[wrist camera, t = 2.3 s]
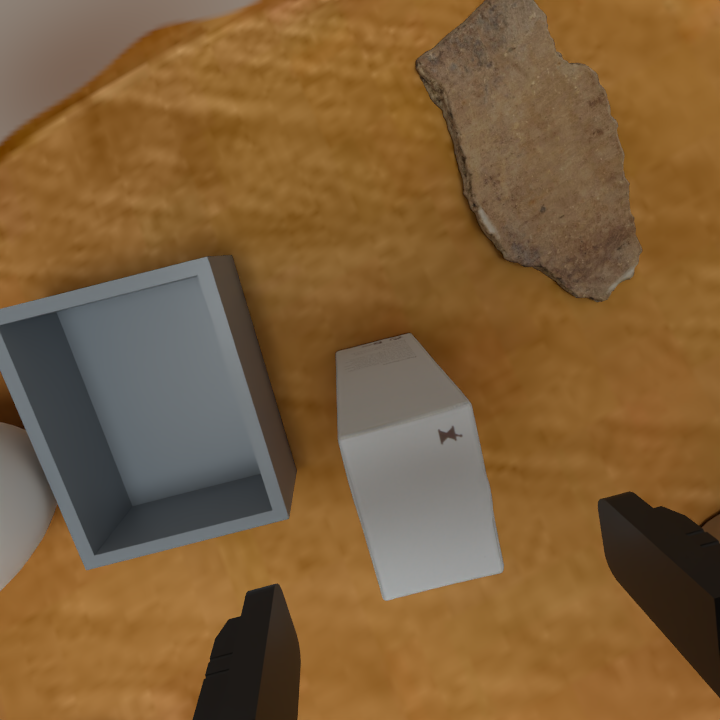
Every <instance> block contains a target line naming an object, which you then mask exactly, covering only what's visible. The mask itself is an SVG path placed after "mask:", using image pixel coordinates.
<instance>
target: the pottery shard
mask: <svg viewBox="0 0 720 720" xmlns="http://www.w3.org/2000/svg"><path fill="white" fill-rule="evenodd" d="M416 70H417V71H418V72H419V74H420V78H421V80H422V82H423V83H424V86H425V88H426V90H427V91H428V93H429V96H430V99H431V100H432V101H433V102H434V104H436V105H437V106H438V107H439V108H440V109H442V110H443V116H444V118H445V120H446V121H447V125H448V130H449V132H450V134H451V137H452V140H453V143H454V148H455V154H456V155H457V162H458V164H459V170H460V172H461V175H462V178H463V184H464V193H463V194H464V195H465V197H466V198H467V199H468V202H469V205H470V209H471V210H472V211H473V212H474V213H475V214H476V218H477V220H478V223H479V225H480V227H481V229H482V230H483V232H484V233H485V234H486V236H487V237H488V238H489V239H490V240H491V241H493V243H494V245H495V246H496V248H497V249H498V250H500V251H501V252H502V253H503V257H504V258H505V259H506V260H508V261H510V262H513V263H519V264H521V265H522V266H524V267H533V268H535V269H537V270H539V271H541V272H543V273H544V274H545V275H547V276H548V277H550V278H552V279H553V280H555V281H556V282H557V283H558V284H559V285H560V286H561V287H562V288H563V289H564V290H566V291H567V292H569V293H571V294H572V295H573V296H575V297H576V298H584V297H585V298H589V299H592V300H594V301H596V302H602V301H605V300H607V299H608V297H609V296H610V294H611V292H612V291H614V289H615V287H616V286H617V285H618V284H619V283H621V282H622V281H624V280H628V279H630V278H631V277H632V276H633V274H634V268H635V266H636V265H637V264H638V261H639V255H640V253H641V252H642V248H641V245H640V243H639V241H638V239H637V237H636V235H635V232H636V228H635V224H634V217H633V216H632V214H631V212H630V205H629V182H628V181H627V179H626V178H625V175H624V171H623V162H624V152H623V149H622V147H621V144H620V142H619V139H618V134H617V127H618V124H617V121H616V120H615V119H614V118H613V117H612V116H611V114H610V105H609V102H608V99H607V94H606V91H605V89H604V88H603V87H602V86H601V85H600V83H599V79H598V75H597V73H596V72H595V71H593V70H592V69H591V68H589V67H588V66H587V65H585V64H581V63H568V61H565V60H563V58H562V55H561V53H559V52H556V49H555V43H554V40H553V39H552V38H551V37H550V34H549V31H548V24H547V16H546V15H545V13H544V12H543V11H542V10H541V9H540V8H539V7H538V6H537V4H536V3H535V2H534V0H485V1H484V2H483V3H482V4H481V5H480V6H479V7H478V8H477V9H476V10H475V11H474V12H473V13H472V14H471V15H470V16H469V17H468V18H467V19H466V20H465V21H464V22H463V23H462V24H460V25H459V26H458V27H457V28H455V29H454V30H453V31H451V32H450V33H449V34H448V35H446V36H445V37H444V38H443V39H442V40H441V41H440V42H439V43H438V44H437V45H436V46H435V47H434V48H432V49H431V50H429V51H427V52H425V53H424V54H423V55H422V56H420V57H419V58H418V59H417V60H416Z"/></svg>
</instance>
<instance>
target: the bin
mask: <svg viewBox="0 0 720 720" xmlns="http://www.w3.org/2000/svg"><path fill="white" fill-rule="evenodd" d="M0 371H1V373H2V375H3V378H4V380H5V382H6V385H7V387H8V389H9V392H10V394H11V396H12V399H13V401H14V403H15V406H16V408H17V410H18V413H19V415H20V417H21V420H22V422H23V424H24V427H25V429H26V431H27V434H28V436H29V438H30V441H31V443H32V445H33V448H34V450H35V452H36V455H37V457H38V459H39V462H40V464H41V466H42V469H43V471H44V473H45V476H46V478H47V480H48V483H49V485H50V487H51V490H52V492H53V494H54V497H55V499H56V501H57V503H58V506H59V508H60V510H61V513H62V515H63V517H64V520H65V522H66V524H67V527H68V529H69V531H70V534H71V536H72V538H73V541H74V543H75V545H76V548H77V550H78V552H79V555H80V557H81V559H82V562H83V564H84V566H85V569H86V570H89V569H93V568H97V567H101V566H105V565H109V564H113V563H117V562H121V561H124V560H128V559H132V558H136V557H140V556H144V555H148V554H152V553H156V552H160V551H164V550H168V549H172V548H176V547H180V546H184V545H187V544H191V543H195V542H199V541H203V540H207V539H211V538H215V537H219V536H223V535H227V534H231V533H235V532H239V531H243V530H247V529H250V528H254V527H258V526H262V525H266V524H270V523H274V522H278V521H282V520H286V519H289V516H290V510H291V503H292V497H293V491H294V484H295V478H296V472H297V470H296V467H295V463H294V460H293V457H292V453H291V450H290V447H289V443H288V440H287V437H286V433H285V430H284V427H283V423H282V420H281V417H280V413H279V410H278V407H277V403H276V400H275V397H274V393H273V390H272V387H271V383H270V380H269V377H268V373H267V370H266V367H265V363H264V360H263V357H262V354H261V350H260V347H259V344H258V340H257V337H256V334H255V330H254V327H253V324H252V320H251V317H250V314H249V310H248V307H247V304H246V300H245V297H244V294H243V290H242V287H241V284H240V280H239V277H238V274H237V270H236V267H235V264H234V260H233V257H232V255H225V256H209V257H204V258H200V259H196V260H192V261H188V262H184V263H180V264H176V265H172V266H168V267H164V268H160V269H156V270H152V271H149V272H145V273H141V274H137V275H133V276H129V277H125V278H121V279H117V280H113V281H109V282H105V283H101V284H97V285H93V286H89V287H85V288H82V289H78V290H74V291H70V292H66V293H62V294H58V295H54V296H50V297H46V298H42V299H38V300H34V301H30V302H26V303H22V304H18V305H14V306H11V307H7V308H3V309H0Z"/></svg>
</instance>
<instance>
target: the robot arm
mask: <svg viewBox="0 0 720 720" xmlns="http://www.w3.org/2000/svg"><path fill="white" fill-rule="evenodd" d="M598 512H599V519H600V525H601V532H602V539H603V546H604V552H605V557H606V560H607V563H608V565H609V568H610V570H611V572H612V574H613V575H614V577H615V578H616V580H617V581H618V582H619V583H620V585H621V586H622V587H623V588H624V589H625V590H626V591H627V593H628V594H629V595H630V596H631V597H632V598H633V599H634V601H635V602H636V603H637V604H638V605H639V606H640V607H641V609H642V610H643V611H644V612H645V613H646V614H647V615H648V616H649V618H650V619H651V620H652V621H653V622H654V623H655V624H656V626H657V627H658V628H659V629H660V630H661V631H662V632H663V634H664V635H665V636H666V637H667V638H668V639H669V640H670V642H671V643H672V644H673V645H674V646H675V647H676V648H677V650H678V651H679V652H680V653H681V654H682V655H683V656H684V658H685V659H686V660H687V661H688V662H689V663H690V664H691V666H692V667H693V668H694V669H695V670H696V671H697V672H698V674H699V675H700V676H701V677H702V678H703V679H704V680H705V682H706V683H707V684H708V685H709V686H710V687H711V688H712V690H713V691H714V692H715V693H716V694H717V695H718V696H719V698H720V514H719V515H717V516H716V517H714V518H713V519H711V520H710V521H708V522H707V523H706V524H705V525H704V526H703V527H702V528H701V527H700V526H699V525H697V524H696V523H695V522H693V521H692V520H690V519H689V518H688V517H686V516H685V515H683V514H680V513H677V512H675V511H672V510H670V509H667V508H665V507H662V506H660V507H656V508H652V507H651V506H650V505H649V504H647V503H646V502H645V501H644V500H642V499H641V498H640V497H638V496H637V495H636V494H635V493H633V492H626V493H622V494H618V495H615V496H611V497H607V498H603V499H600V500H599V501H598ZM300 666H301V659H300V648H299V642H298V638H297V634H296V631H295V628H294V625H293V622H292V619H291V616H290V613H289V610H288V607H287V604H286V601H285V598H284V595H283V592H282V589H281V587H280V585H279V584H273V585H270V586H266V587H262V588H258V589H254V590H251V591H248V592H247V593H246V596H245V601H244V605H243V609H242V614H241V616H240V617H236V618H232V619H229V620H228V621H227V623H226V624H225V625H224V627H223V628H222V630H221V631H220V633H219V634H218V636H217V637H216V638H215V642H214V645H213V649H212V653H211V656H210V662H209V663H208V667H207V670H206V674H205V676H206V679H204V681H203V685H202V688H201V692H200V695H199V699H198V703H197V706H196V710H195V713H194V717H193V720H297V717H298V700H299V683H300Z"/></svg>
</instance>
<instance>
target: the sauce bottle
mask: <svg viewBox="0 0 720 720" xmlns="http://www.w3.org/2000/svg"><path fill="white" fill-rule="evenodd" d="M56 506H57V501H56V499H55V497H54V494H53V492H52V490H51V487H50V485H49V483H48V480H47V478H46V476H45V473H44V471H43V469H42V466H41V464H40V462H39V459H38V457H37V455H36V452H35V450H34V448H33V445H32V443H31V441H30V438H29V436H28V434H27V431H26V430H24V429H22V428H19V427H17V426H14V425H10V424H6V423H2V422H0V591H1V590H2V589H3V588H4V587H5V586H6V585H7V584H8V583H9V582H10V581H11V580H12V579H13V578H14V576H15V575H16V574H17V573H18V572H19V571H20V570H21V568H22V567H23V566H24V565H25V563H26V562H27V561H28V559H29V558H30V556H31V555H32V553H33V552H34V551H35V549H36V548H37V546H38V545H39V543H40V542H41V540H42V538H43V537H44V535H45V533H46V531H47V529H48V527H49V524H50V522H51V519H52V517H53V515H54V512H55V509H56Z"/></svg>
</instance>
